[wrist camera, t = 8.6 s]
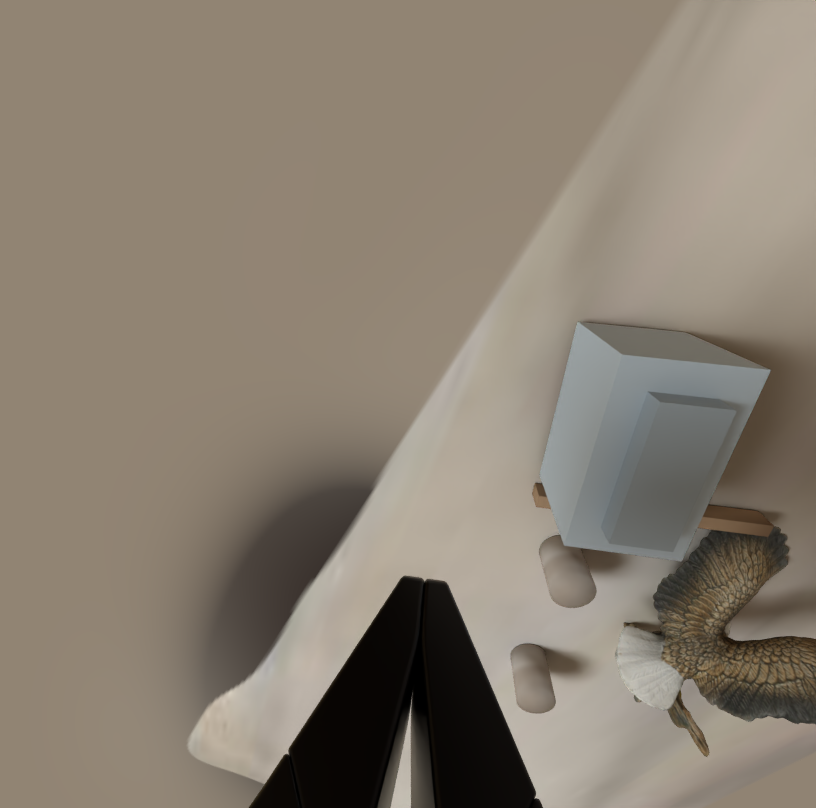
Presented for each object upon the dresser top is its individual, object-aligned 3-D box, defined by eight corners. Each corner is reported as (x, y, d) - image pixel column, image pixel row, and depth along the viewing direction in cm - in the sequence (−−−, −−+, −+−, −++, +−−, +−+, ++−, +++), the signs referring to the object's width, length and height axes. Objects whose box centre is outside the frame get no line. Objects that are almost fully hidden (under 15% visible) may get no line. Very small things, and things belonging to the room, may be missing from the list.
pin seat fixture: (831, 373, 16) (895, 398, 13) (663, 688, 23) (686, 737, 21) (568, 346, 16) (587, 365, 14) (490, 661, 24) (494, 706, 22)
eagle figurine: (708, 695, 22) (909, 640, 17) (699, 818, 16) (994, 790, 11) (603, 570, 24) (752, 490, 19) (565, 640, 19) (759, 554, 14)
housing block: (685, 332, 15) (792, 379, 10) (629, 486, 18) (694, 579, 13) (577, 321, 15) (634, 363, 11) (539, 474, 18) (569, 562, 13)
